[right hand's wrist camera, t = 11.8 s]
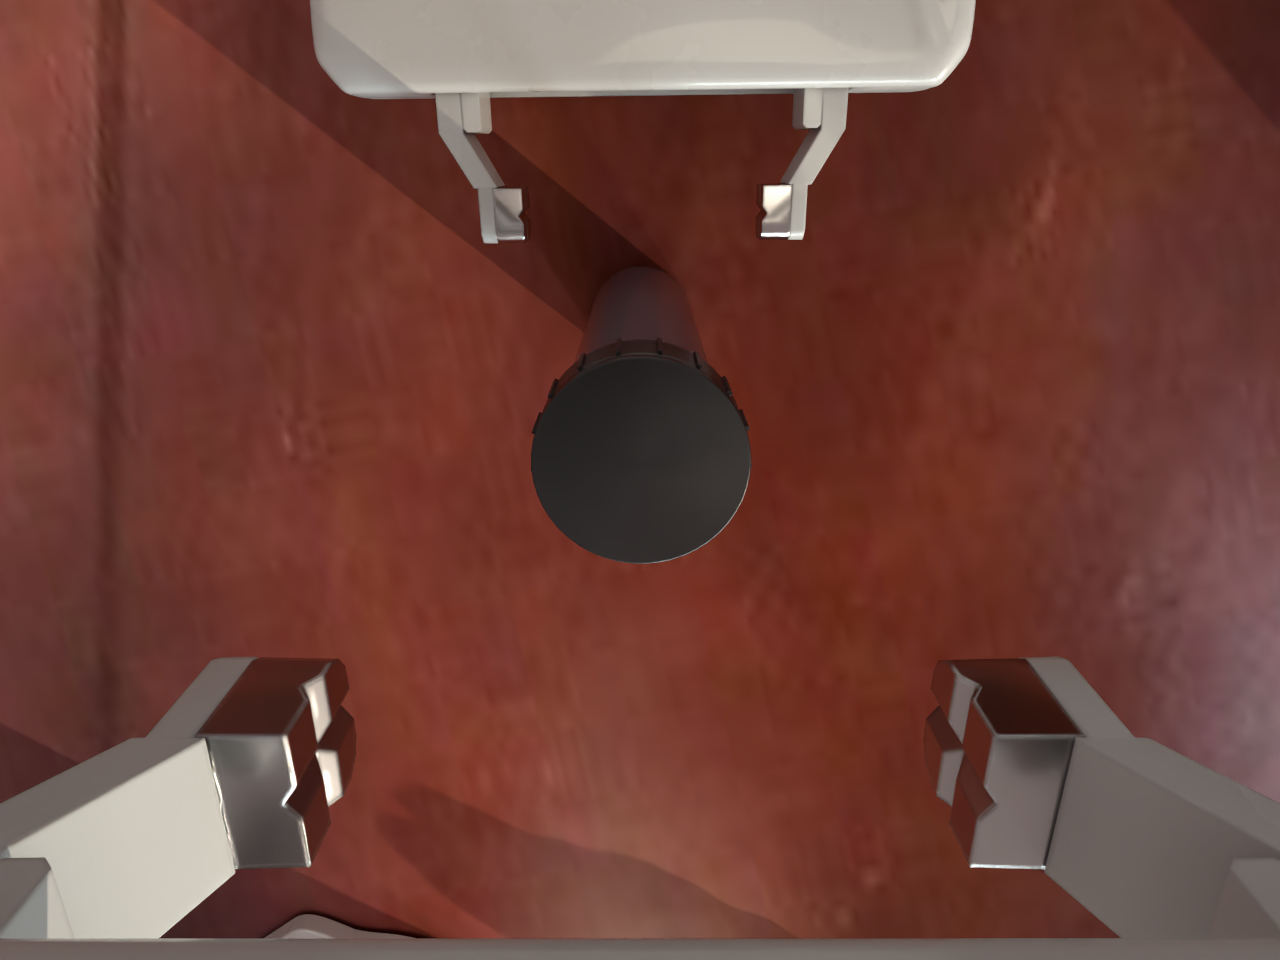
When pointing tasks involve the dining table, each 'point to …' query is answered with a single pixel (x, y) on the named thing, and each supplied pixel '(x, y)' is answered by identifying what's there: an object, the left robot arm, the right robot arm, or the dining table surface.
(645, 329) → the grey cylindrical rod
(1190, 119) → the dining table surface
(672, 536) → the lid
